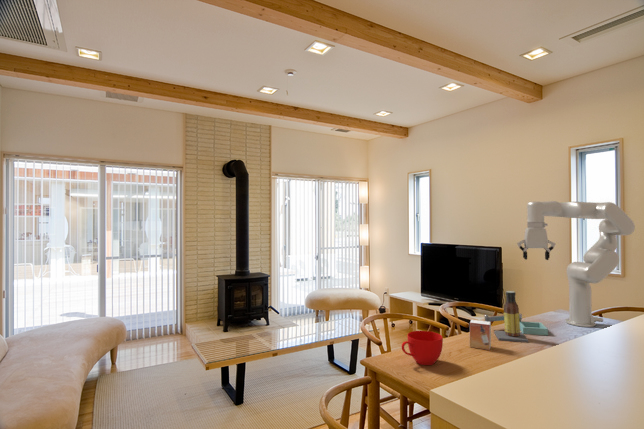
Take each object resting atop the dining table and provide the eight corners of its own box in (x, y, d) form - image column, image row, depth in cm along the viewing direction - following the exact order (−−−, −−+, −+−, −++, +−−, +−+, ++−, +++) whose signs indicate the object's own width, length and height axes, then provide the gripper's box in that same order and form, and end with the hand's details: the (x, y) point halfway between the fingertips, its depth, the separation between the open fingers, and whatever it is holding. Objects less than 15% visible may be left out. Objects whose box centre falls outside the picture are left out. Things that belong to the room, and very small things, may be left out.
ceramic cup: (392, 360, 146) (391, 334, 146) (427, 354, 153) (427, 329, 153) (413, 373, 134) (412, 344, 134) (450, 365, 141) (450, 338, 141)
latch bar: (523, 319, 189) (523, 313, 189) (487, 322, 184) (487, 316, 184) (518, 317, 193) (518, 311, 193) (482, 320, 188) (482, 314, 188)
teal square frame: (539, 327, 189) (539, 320, 189) (548, 335, 176) (547, 327, 176) (514, 325, 192) (514, 318, 192) (520, 333, 179) (520, 325, 179)
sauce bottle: (516, 333, 177) (516, 290, 177) (522, 337, 170) (521, 292, 171) (502, 332, 177) (501, 290, 178) (507, 337, 171) (506, 292, 171)
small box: (469, 347, 161) (469, 322, 161) (471, 343, 166) (470, 319, 166) (490, 350, 157) (489, 324, 157) (491, 346, 162) (490, 321, 162)
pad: (522, 334, 178) (521, 332, 178) (528, 342, 166) (528, 340, 166) (494, 332, 181) (494, 330, 181) (498, 340, 170) (498, 338, 170)
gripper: (552, 225, 195) (552, 259, 195) (515, 225, 200) (515, 258, 200) (557, 226, 188) (557, 260, 188) (518, 226, 193) (519, 260, 192)
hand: (536, 259), depth 194 cm, fingers open, 9 cm apart
